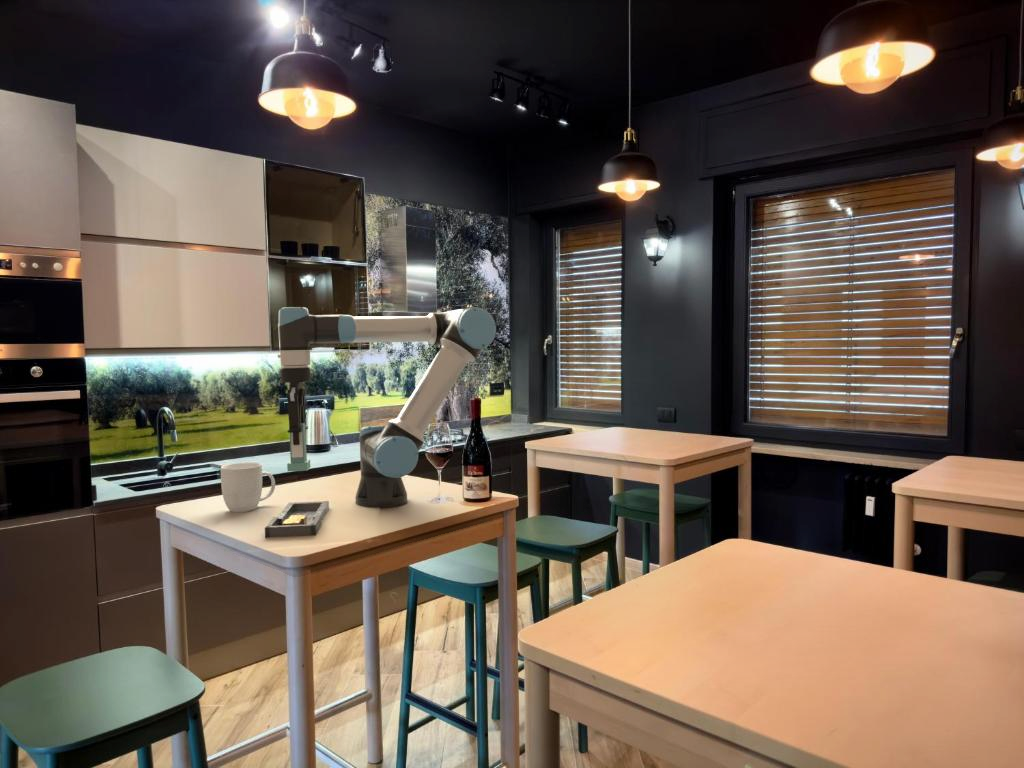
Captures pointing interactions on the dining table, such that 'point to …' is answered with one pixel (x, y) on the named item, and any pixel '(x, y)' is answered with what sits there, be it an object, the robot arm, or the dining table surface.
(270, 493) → the mug
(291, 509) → the dark gray shallow tray
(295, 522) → the chip
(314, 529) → the tray
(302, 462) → the teal t-shaped block
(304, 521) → the chip
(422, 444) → the robot arm
